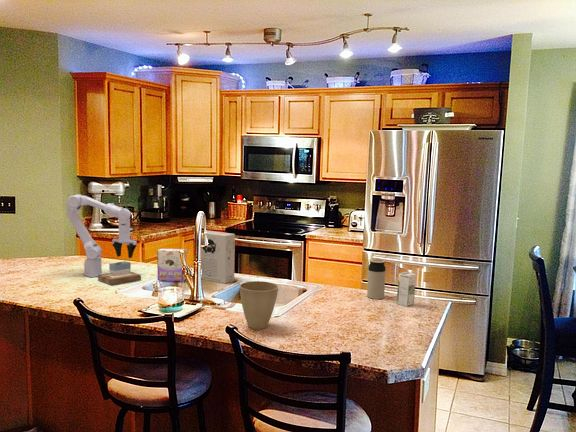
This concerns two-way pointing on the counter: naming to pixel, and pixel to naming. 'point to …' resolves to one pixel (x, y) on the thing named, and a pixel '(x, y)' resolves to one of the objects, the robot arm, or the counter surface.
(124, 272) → the block
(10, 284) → the counter surface
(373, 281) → the travel mug
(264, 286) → the plant pot
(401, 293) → the syrup box
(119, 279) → the stand
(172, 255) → the candy box
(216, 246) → the cereal box
